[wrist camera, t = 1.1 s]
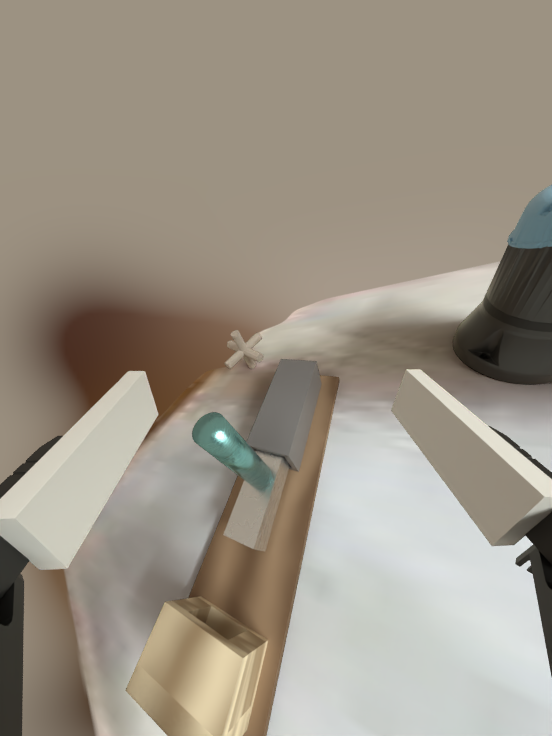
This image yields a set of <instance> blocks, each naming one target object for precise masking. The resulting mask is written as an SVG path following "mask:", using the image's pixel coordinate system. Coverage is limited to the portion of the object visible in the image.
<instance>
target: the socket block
mask: <svg viewBox="0 0 552 736" xmlns="http://www.w3.org/2000/svg"><path fill="white" fill-rule="evenodd" d="M267 643H268V640H267V639H266V638H264V637H263V636H261V635H260V634H258V633H257V632H255V631H253V630H252V629H250V628H249V627H247V626H246V625H244V624H243V623H241V622H240V621H238V620H237V619H235V618H233V617H232V616H230V615H229V614H227V613H226V612H224V611H223V610H221V609H220V608H218V607H216V606H215V605H213V604H212V603H210V602H209V601H207V600H206V599H204V598H203V597H201V596H200V597H193V598H187V599H180V600H173V601H167V602H165V603H164V605H163V607H162V609H161V612H160V614H159V616H158V618H157V621H156V623H155V625H154V627H153V630H152V632H151V634H150V636H149V639H148V641H147V643H146V645H145V648H144V650H143V652H142V654H141V657H140V659H139V661H138V663H137V666H136V668H135V670H134V672H133V674H132V677H131V679H130V681H129V683H128V686H127V688H126V691H127V693H128V694H129V695H130V696H131V697H132V698H133V699H134V700H135V701H136V702H137V703H138V704H139V705H140V707H141V708H142V709H143V710H144V711H145V712H146V713H147V714H148V715H149V716H150V717H151V718H152V719H153V720H154V722H155V723H156V724H157V725H158V726H159V727H160V728H161V729H162V730H163V731H164V732H165V733H166V734H167V736H243V735H244V733H245V732H246V731H247V728H248V724H249V720H250V715H251V711H252V707H253V703H254V698H255V694H256V690H257V686H258V681H259V677H260V673H261V669H262V665H263V660H264V656H265V652H266V648H267Z"/></svg>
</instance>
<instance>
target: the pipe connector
mask: <svg viewBox="0 0 552 736" xmlns="http://www.w3.org/2000/svg"><path fill="white" fill-rule="evenodd" d="M231 336H232V338H233V340H234V341H231V340H230V341H228V343H227V347H229V348H230V349H232V350H234V351H236V353H234V354H233V356H231V357H230V358H229V359H228V360H227V361H226V362H225V363H224V364H225V365H226V366H227V367H228V368H229V369H231V368H232V367H233V366H234V365H235V364H236V363H237V362H238V361H239V360H240V359H242V358H244V360H245V361H246V363H247V365H248V367H249V368H250V369H253V368H255V367H256V363H255V361H257V362H261V361H262V360H263V355H262V354H261V353H259V352H256V351H254V350H252V348H253V347H254V346H255V345H256V344H257V343H258V342H259V341H260V340H261V339H262V336H261V335H260V334H259V333H256V334H255V335H253V336H252V337H251V338H250V339H249V340H248V341H247V342H246V343H245V342H244V340H243V338H242V336H241V334H240V333H239V331H238V330H235V331H233V332H232V333H231ZM254 360H255V361H254Z"/></svg>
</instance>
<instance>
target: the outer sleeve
mask: <svg viewBox="0 0 552 736" xmlns="http://www.w3.org/2000/svg"><path fill="white" fill-rule="evenodd" d="M320 388H321V379H320V375H319V370H318V366H317V361H305V360H289V359H281V361H280V363H279V365H278V368H277V370H276V373H275V375H274V377H273V380H272V382H271V384H270V387H269V389H268V392H267V394H266V396H265V399H264V401H263V404H262V406H261V408H260V411H259V413H258V416H257V418H256V420H255V423H254V425H253V428H252V430H251V432H250V435H249V437H248V439H247V443H248V445H249V446H250V447H251V448H252V449H253V450H254V451H256V449H257V450H260V451H264V452H268V453H272V454H276V455H280V456H284V457H285V459H286V460H287V461H288V463H289V464H290V466H289V469H290V470H294V471H297V472H299V469H300V466H301V462H302V458H303V454H304V450H305V446H306V442H307V439H308V435H309V431H310V427H311V423H312V419H313V415H314V411H315V408H316V404H317V400H318V396H319V392H320Z"/></svg>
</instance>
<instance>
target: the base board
mask: <svg viewBox="0 0 552 736" xmlns="http://www.w3.org/2000/svg"><path fill="white" fill-rule="evenodd" d="M320 379H321V388H320V392H319V396H318V400H317V404H316V408H315V411H314V415H313V419H312V423H311V427H310V431H309V435H308V439H307V442H306V446H305V450H304V454H303V458H302V462H301V466H300V469H299V472H297V471H294V470H290V469H289V470H288V473H287V477H286V480H285V484H284V487H283V491H282V494H281V498H280V501H279V505H278V508H277V512H276V515H275V519H274V522H273V526H272V529H271V533H270V536H269V540H268V543H267V547H266V550H265V551H260V550H255V549H252V548H250V547H248V546H246V545H244V544H241V543H239V542H237V541H235V540H233V539H231V538H229V537H227V536H225V535H223V534H224V531H225V529H226V526H227V524H228V521H229V518H230V516H231V513H232V511H233V508H234V505H235V503H236V500H237V498H238V495H239V493H240V490H241V487H242V485H243V482H244V480H243V479H242V478H241V477H239V476H237V479H236V481H235V484H234V486H233V489H232V491H231V494H230V496H229V499H228V501H227V504H226V506H225V509H224V511H223V513H222V516H221V518H220V521H219V523H218V526H217V528H216V531H215V533H214V536H213V538H212V541H211V543H210V546H209V548H208V550H207V553H206V555H205V558H204V560H203V563H202V565H201V568H200V570H199V573H198V575H197V578H196V580H195V583H194V585H193V588H192V590H191V592H190V595H189V597H188V598H193V597H200V596H201V597H203V598H204V599H206V600H207V601H209V602H210V603H212V604H213V605H215V606H216V607H218V608H220V609H221V610H223V611H224V612H226V613H227V614H229V615H230V616H232V617H233V618H235V619H237V620H238V621H240V622H241V623H243V624H244V625H246V626H247V627H249V628H250V629H252V630H253V631H255V632H257V633H258V634H260V635H261V636H263V637H264V638H266V639H267V640H268V643H267V648H266V652H265V656H264V660H263V665H262V669H261V673H260V677H259V681H258V686H257V690H256V694H255V698H254V703H253V707H252V711H251V715H250V720H249V724H248V728H247V731H246V732H245V733H244V735H243V736H266V735H267V730H268V725H269V720H270V715H271V710H272V705H273V701H274V696H275V691H276V686H277V681H278V676H279V671H280V667H281V662H282V657H283V652H284V647H285V642H286V637H287V633H288V628H289V623H290V618H291V613H292V608H293V603H294V598H295V594H296V589H297V584H298V579H299V574H300V569H301V564H302V560H303V555H304V550H305V545H306V540H307V535H308V530H309V526H310V521H311V516H312V511H313V506H314V501H315V496H316V491H317V487H318V482H319V477H320V472H321V467H322V462H323V457H324V453H325V448H326V443H327V438H328V433H329V428H330V423H331V419H332V414H333V409H334V404H335V399H336V394H337V389H338V384H339V377H333V376H321V375H320Z"/></svg>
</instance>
